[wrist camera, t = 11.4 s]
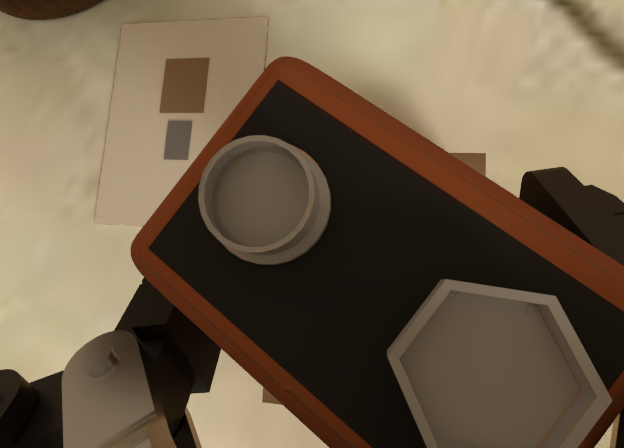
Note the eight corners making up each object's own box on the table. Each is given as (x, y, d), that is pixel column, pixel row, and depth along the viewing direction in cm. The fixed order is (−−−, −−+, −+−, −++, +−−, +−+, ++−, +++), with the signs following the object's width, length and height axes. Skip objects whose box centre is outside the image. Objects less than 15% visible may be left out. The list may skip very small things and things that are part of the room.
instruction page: (124, 26, 23) (121, 23, 23) (268, 18, 22) (267, 15, 21) (96, 223, 22) (92, 222, 21) (250, 231, 20) (248, 230, 20)
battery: (417, 393, 13) (521, 696, 4) (268, 271, 15) (58, 250, 5) (493, 292, 13) (801, 321, 4) (338, 180, 15) (260, -11, 5)
